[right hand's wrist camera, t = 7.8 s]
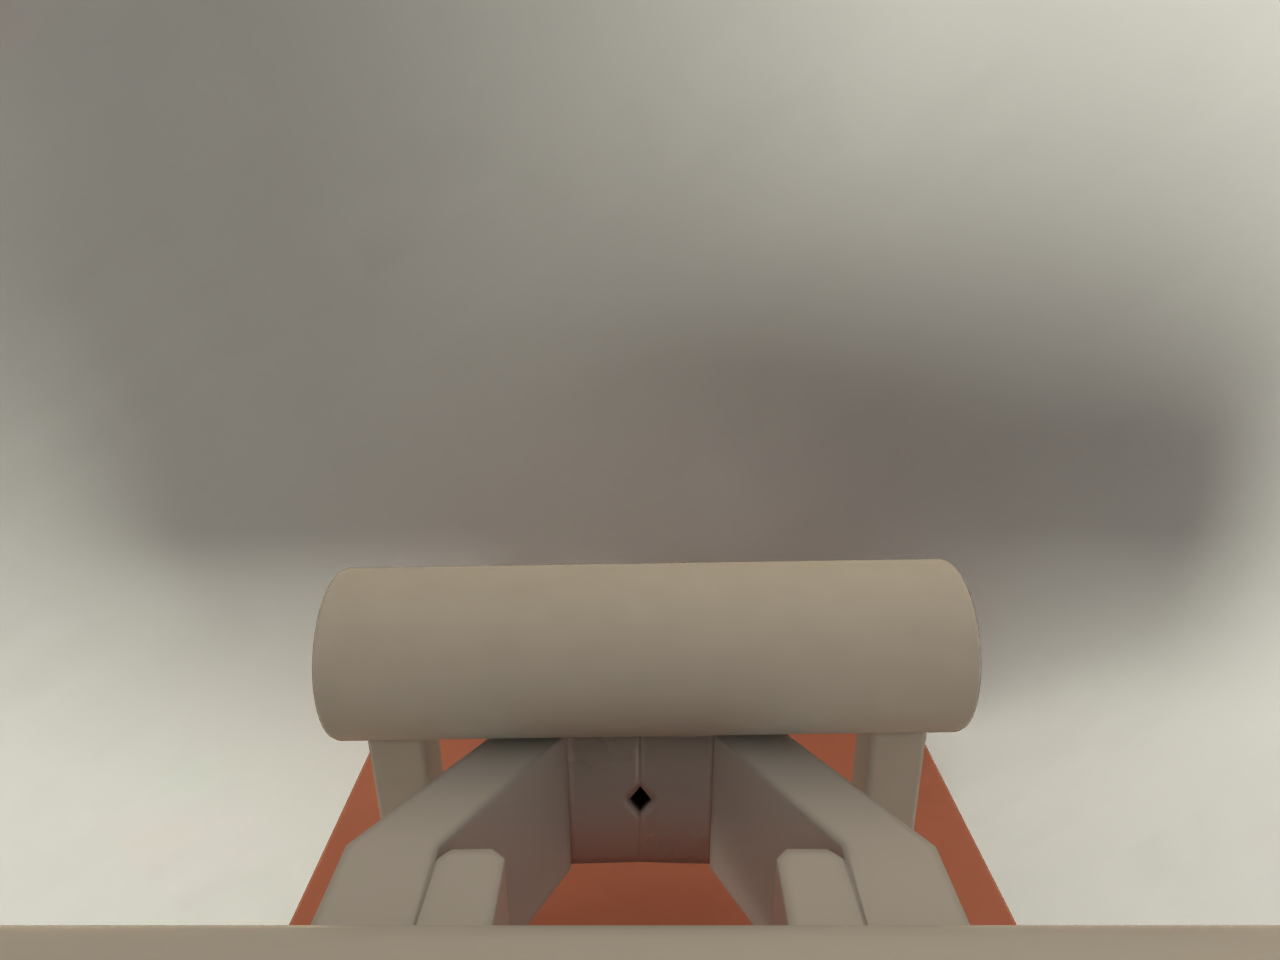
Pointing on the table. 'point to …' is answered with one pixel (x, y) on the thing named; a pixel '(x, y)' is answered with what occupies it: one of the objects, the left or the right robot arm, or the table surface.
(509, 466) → the table surface
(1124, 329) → the table surface
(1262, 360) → the table surface
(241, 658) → the table surface
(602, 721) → the drawer
